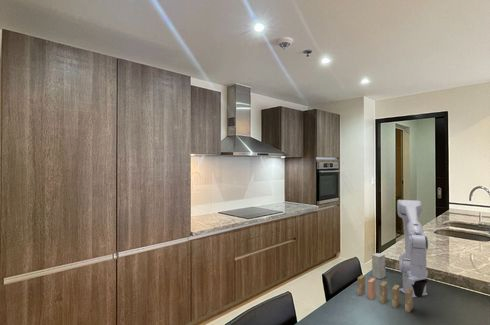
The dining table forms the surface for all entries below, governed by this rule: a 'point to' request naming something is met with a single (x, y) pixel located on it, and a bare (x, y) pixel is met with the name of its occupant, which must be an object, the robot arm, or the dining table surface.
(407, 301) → the domino
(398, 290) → the domino
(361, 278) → the domino
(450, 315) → the dining table surface
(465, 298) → the dining table surface
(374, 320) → the dining table surface
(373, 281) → the domino
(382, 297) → the domino
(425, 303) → the dining table surface
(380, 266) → the skincare box
